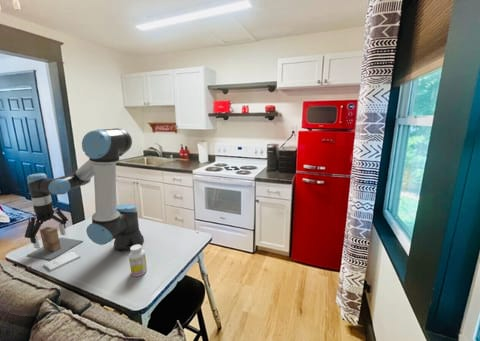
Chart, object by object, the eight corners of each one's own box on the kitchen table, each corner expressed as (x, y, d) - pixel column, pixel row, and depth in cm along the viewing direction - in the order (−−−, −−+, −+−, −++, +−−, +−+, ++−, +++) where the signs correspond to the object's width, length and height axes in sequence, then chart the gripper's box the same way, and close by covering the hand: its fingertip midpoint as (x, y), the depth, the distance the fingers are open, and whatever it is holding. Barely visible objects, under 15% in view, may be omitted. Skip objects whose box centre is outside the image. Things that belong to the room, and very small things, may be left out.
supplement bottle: (139, 266, 110) (136, 241, 107) (150, 269, 108) (147, 244, 105) (127, 274, 104) (124, 249, 101) (139, 278, 102) (135, 252, 99)
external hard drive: (80, 258, 118) (51, 272, 107) (72, 253, 122) (43, 266, 112) (79, 255, 117) (50, 269, 107) (72, 250, 121) (43, 263, 111)
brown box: (61, 248, 125) (57, 228, 122) (54, 252, 121) (49, 231, 118) (51, 246, 126) (46, 226, 124) (44, 250, 123) (39, 230, 120)
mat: (83, 241, 132) (83, 240, 132) (51, 260, 115) (50, 259, 115) (61, 238, 136) (61, 237, 136) (27, 255, 119) (27, 254, 119)
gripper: (60, 195, 130) (67, 229, 135) (8, 212, 107) (18, 253, 112) (71, 196, 129) (77, 230, 133) (19, 214, 105) (30, 255, 110)
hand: (50, 241), depth 123 cm, fingers open, 13 cm apart
